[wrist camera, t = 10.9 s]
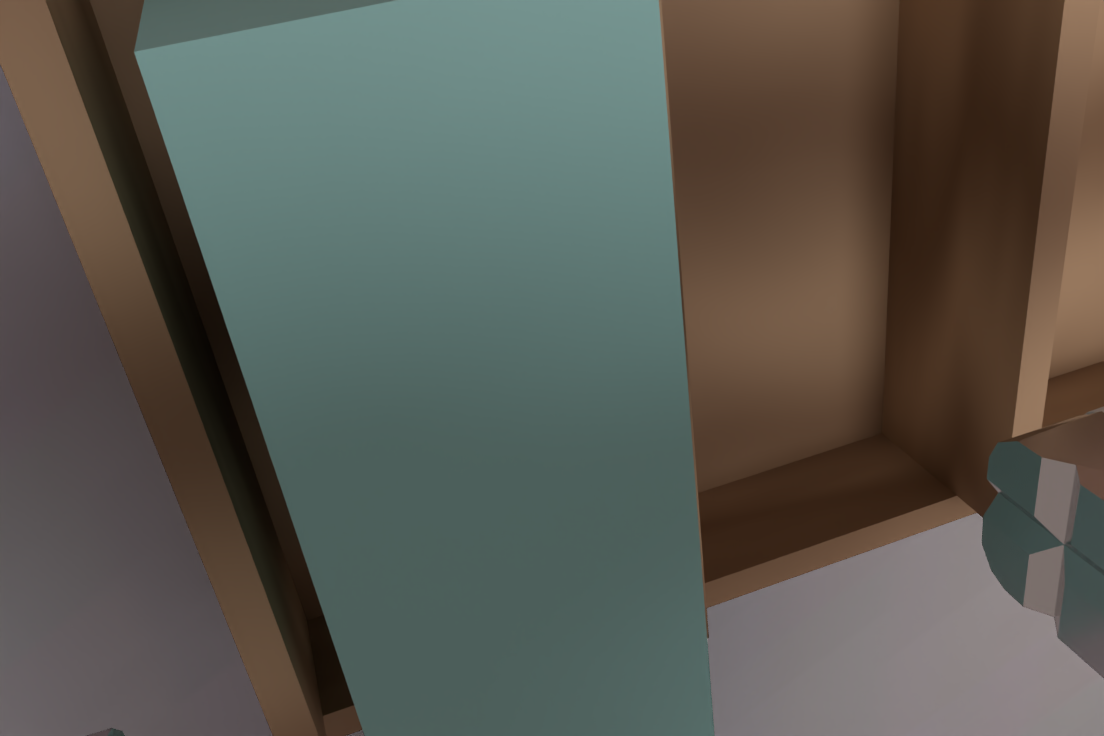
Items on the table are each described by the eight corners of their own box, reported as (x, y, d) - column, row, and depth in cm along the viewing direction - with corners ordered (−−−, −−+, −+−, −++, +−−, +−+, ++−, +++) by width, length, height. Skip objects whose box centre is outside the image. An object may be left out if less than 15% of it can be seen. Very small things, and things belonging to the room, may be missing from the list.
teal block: (450, -97, 14) (654, -51, 8) (547, 482, 19) (717, 774, 13) (152, -45, 13) (133, 51, 7) (338, 547, 18) (416, 892, 12)
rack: (1106, 345, 24) (1296, 448, 20) (277, 612, 20) (303, 811, 16) (1231, -392, 17) (1567, -467, 13) (-29, -220, 12) (-128, -249, 8)
